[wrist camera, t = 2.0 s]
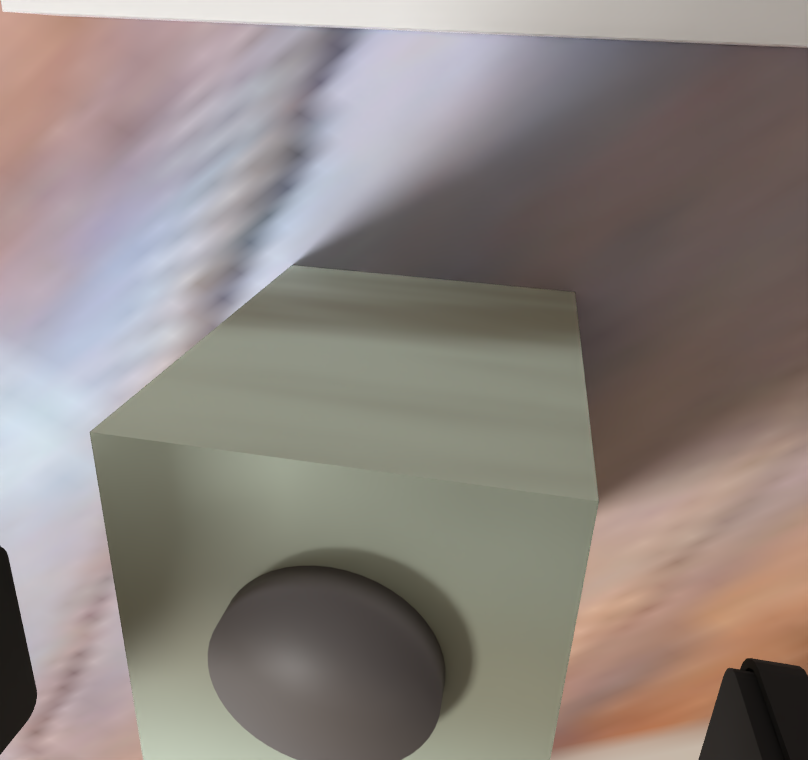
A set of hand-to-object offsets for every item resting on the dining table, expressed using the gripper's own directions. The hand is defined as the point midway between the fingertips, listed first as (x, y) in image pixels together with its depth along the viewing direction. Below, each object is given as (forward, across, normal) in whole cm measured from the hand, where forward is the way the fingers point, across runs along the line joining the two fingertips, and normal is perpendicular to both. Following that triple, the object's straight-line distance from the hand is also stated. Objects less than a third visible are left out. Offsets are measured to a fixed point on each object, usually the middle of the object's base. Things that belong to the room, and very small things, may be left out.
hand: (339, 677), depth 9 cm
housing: (+7, 0, -1) cm, 7 cm away
